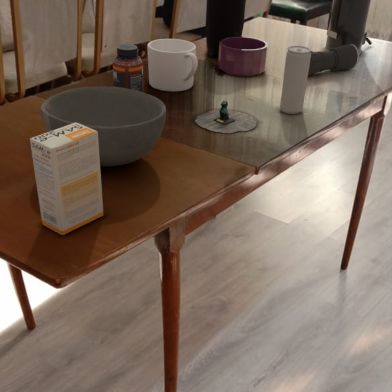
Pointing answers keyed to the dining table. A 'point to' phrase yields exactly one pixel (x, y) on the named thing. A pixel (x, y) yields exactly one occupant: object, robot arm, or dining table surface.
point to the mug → (171, 64)
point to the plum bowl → (242, 56)
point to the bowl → (110, 119)
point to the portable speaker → (223, 22)
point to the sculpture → (226, 120)
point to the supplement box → (68, 177)
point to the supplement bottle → (128, 68)
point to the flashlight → (334, 59)
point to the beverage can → (295, 79)
